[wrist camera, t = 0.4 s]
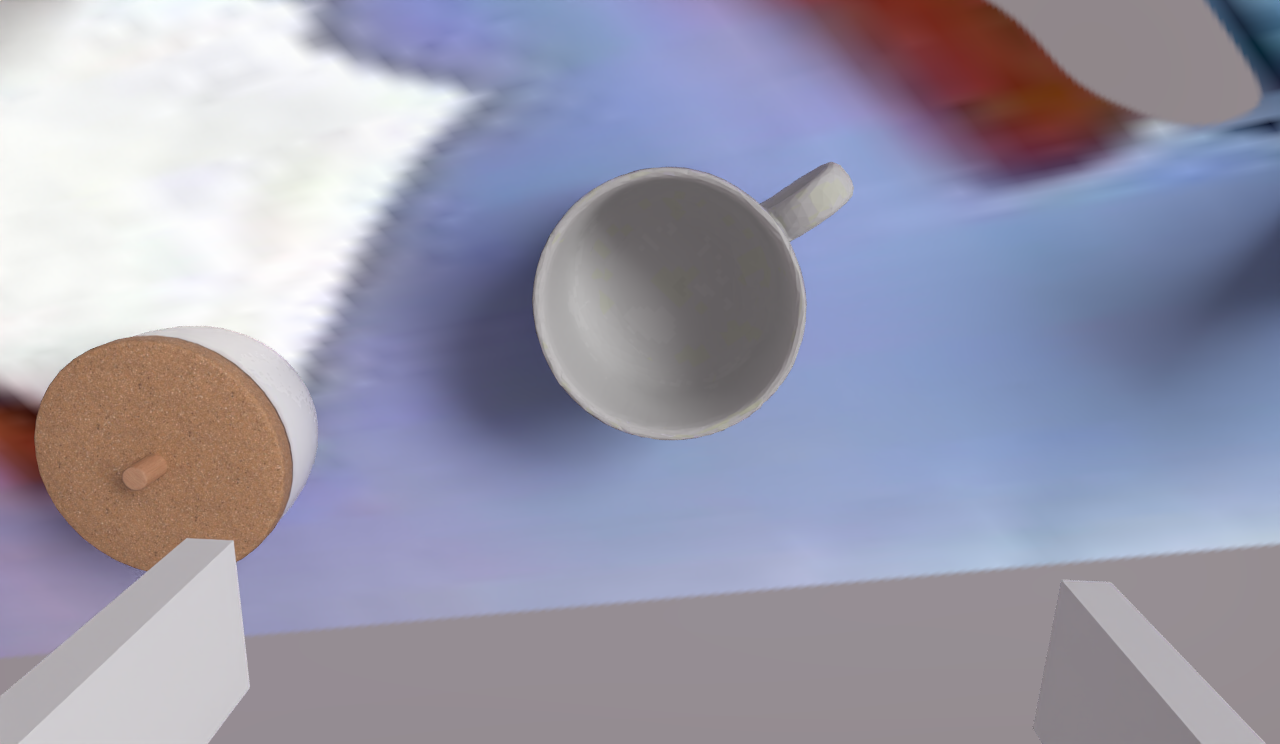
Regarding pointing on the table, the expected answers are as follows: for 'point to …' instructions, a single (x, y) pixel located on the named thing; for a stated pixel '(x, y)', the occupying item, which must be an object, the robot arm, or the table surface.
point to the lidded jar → (175, 442)
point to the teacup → (678, 297)
